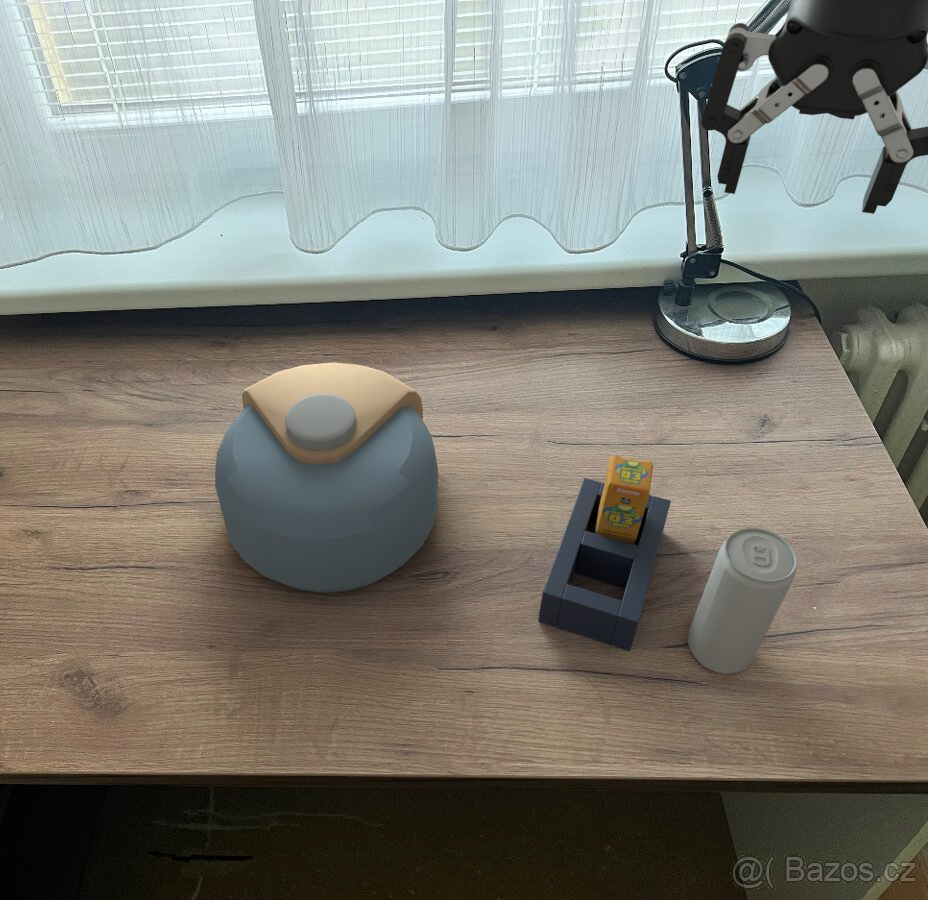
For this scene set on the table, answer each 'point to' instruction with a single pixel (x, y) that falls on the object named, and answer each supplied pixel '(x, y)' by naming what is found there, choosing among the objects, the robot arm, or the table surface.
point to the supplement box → (624, 499)
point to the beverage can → (741, 599)
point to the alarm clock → (328, 476)
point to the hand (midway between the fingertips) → (798, 197)
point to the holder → (602, 572)
